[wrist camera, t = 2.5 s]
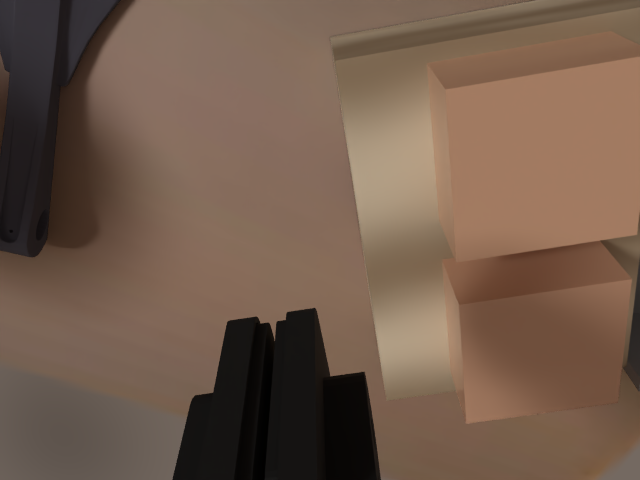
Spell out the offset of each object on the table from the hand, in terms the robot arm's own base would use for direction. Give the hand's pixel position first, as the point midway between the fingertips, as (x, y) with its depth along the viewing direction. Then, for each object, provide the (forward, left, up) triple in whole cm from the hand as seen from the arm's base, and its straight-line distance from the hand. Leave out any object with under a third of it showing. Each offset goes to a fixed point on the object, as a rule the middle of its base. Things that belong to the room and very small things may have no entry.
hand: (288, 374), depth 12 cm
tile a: (-1, +7, -8) cm, 11 cm away
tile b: (+6, +7, -8) cm, 12 cm away
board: (+3, +6, -11) cm, 13 cm away
